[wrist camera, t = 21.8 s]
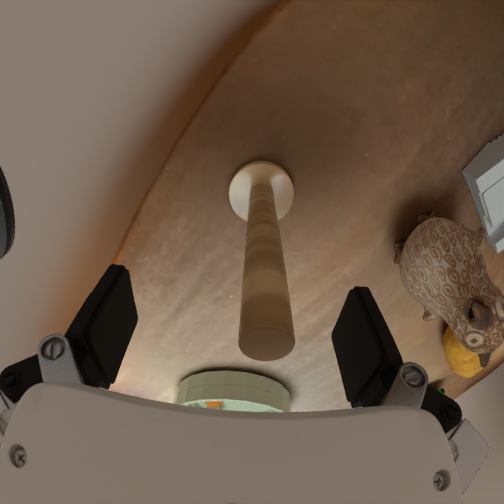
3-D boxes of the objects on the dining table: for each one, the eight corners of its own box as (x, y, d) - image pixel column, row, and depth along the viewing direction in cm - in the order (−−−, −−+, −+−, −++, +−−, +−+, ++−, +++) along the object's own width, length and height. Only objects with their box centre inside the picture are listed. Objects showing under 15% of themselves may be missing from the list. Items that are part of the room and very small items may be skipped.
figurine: (416, 170, 19) (544, 265, 7) (467, 222, 22) (556, 314, 9) (360, 250, 24) (430, 390, 11) (418, 285, 26) (480, 395, 13)
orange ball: (225, 392, 33) (217, 411, 31) (229, 391, 35) (222, 409, 34) (205, 384, 33) (197, 402, 32) (210, 384, 36) (203, 401, 35)
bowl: (183, 411, 41) (179, 435, 37) (171, 359, 33) (163, 390, 28) (278, 420, 42) (279, 443, 38) (301, 371, 33) (305, 402, 29)
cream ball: (200, 412, 38) (207, 426, 35) (202, 402, 37) (209, 417, 34) (217, 409, 39) (224, 422, 37) (220, 399, 38) (228, 413, 36)
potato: (446, 360, 34) (461, 391, 28) (426, 325, 29) (447, 366, 23) (478, 335, 32) (495, 365, 26) (467, 293, 27) (493, 329, 21)
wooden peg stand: (219, 174, 20) (157, 310, 8) (280, 151, 19) (327, 258, 7) (244, 228, 23) (229, 393, 10) (301, 208, 22) (353, 364, 9)
